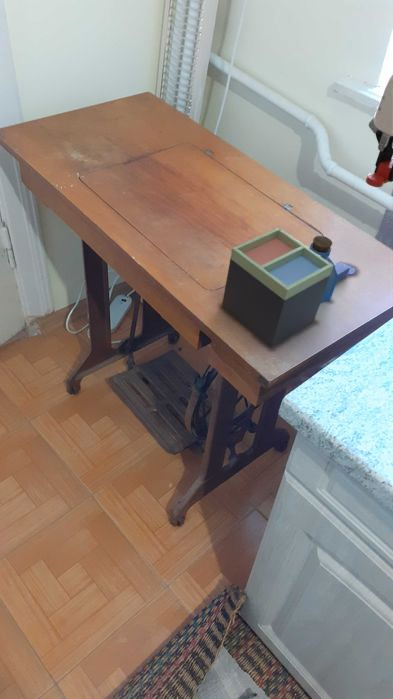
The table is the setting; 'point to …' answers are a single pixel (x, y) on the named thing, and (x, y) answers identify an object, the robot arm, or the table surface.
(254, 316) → the riser
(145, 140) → the table surface
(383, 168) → the red block with cylinder
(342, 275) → the blue block
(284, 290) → the organiser
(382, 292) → the table surface
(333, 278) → the perfume bottle
